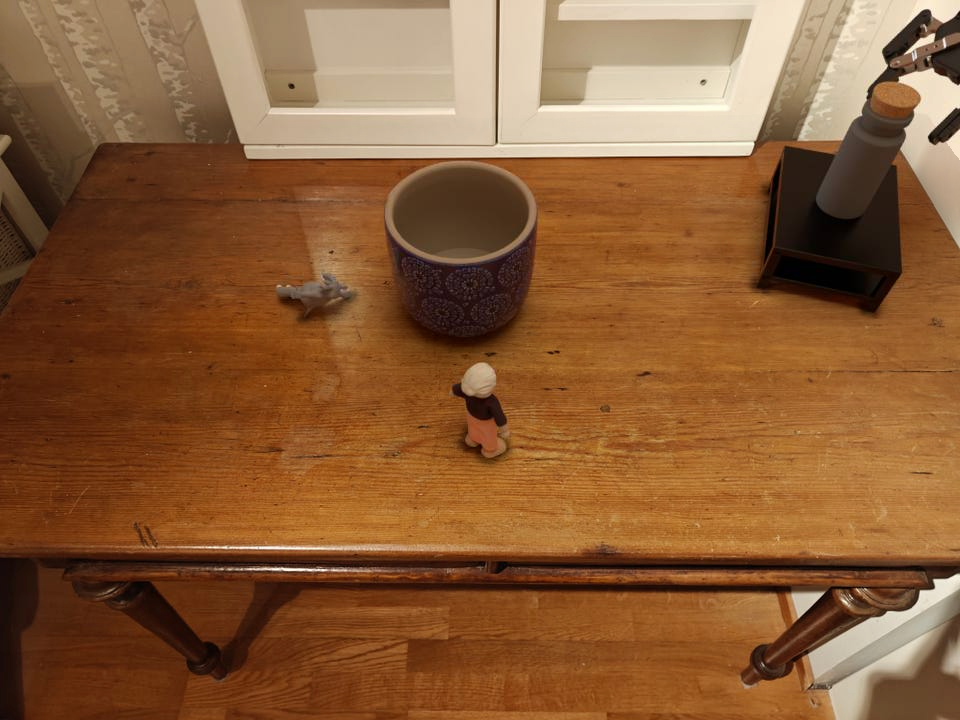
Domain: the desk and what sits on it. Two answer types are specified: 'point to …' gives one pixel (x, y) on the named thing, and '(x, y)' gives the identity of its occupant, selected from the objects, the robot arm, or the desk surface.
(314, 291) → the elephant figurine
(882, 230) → the stand
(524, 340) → the desk surface
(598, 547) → the desk surface
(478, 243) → the planter
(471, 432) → the grandmother figurine
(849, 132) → the bottle
